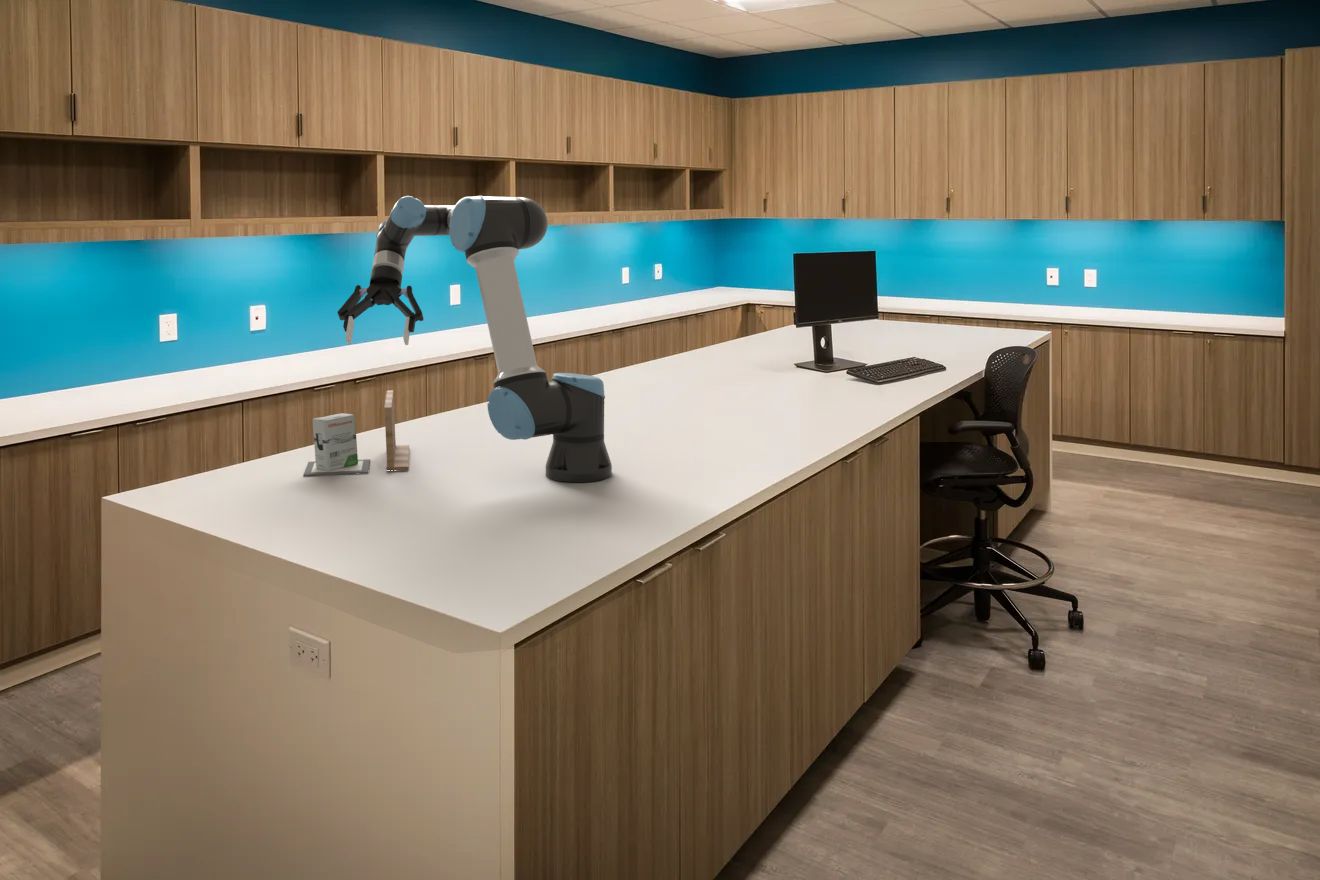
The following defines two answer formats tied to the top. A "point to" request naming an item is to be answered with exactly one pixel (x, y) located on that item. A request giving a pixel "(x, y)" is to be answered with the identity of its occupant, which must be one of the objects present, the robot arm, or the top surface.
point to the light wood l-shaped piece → (395, 453)
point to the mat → (353, 469)
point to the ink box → (335, 441)
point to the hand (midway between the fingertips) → (376, 341)
